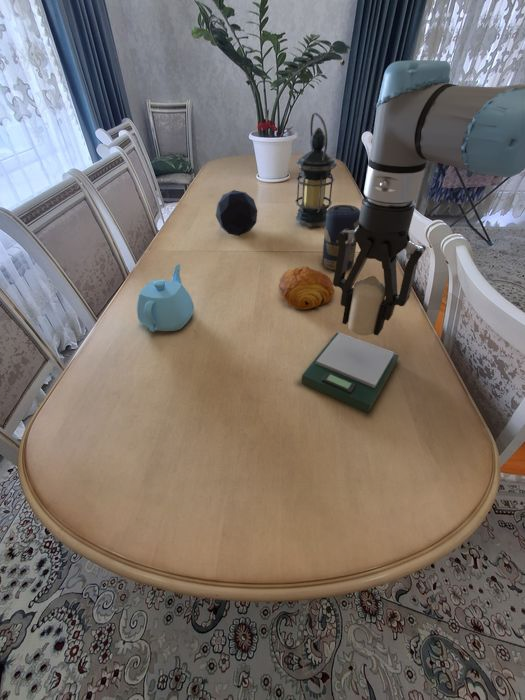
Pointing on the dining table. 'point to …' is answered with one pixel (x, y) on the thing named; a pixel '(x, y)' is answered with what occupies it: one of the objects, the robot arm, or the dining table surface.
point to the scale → (350, 371)
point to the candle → (366, 305)
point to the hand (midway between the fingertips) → (362, 325)
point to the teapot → (165, 304)
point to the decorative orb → (236, 212)
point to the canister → (335, 224)
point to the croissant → (305, 287)
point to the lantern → (315, 179)
